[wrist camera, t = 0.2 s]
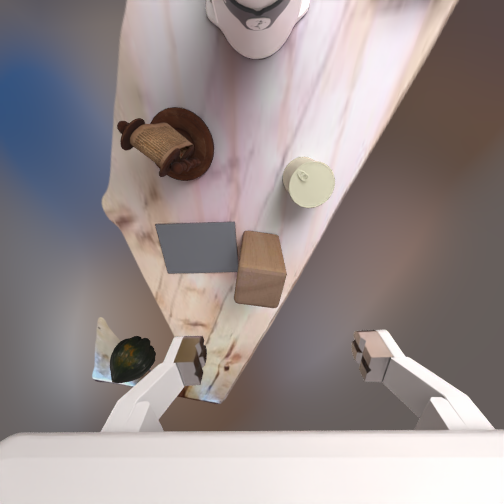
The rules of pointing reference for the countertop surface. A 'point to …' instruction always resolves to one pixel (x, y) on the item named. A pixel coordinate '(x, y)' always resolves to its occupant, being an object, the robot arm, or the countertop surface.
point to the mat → (199, 247)
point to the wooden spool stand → (172, 142)
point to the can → (308, 182)
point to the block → (260, 270)
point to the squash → (131, 359)
